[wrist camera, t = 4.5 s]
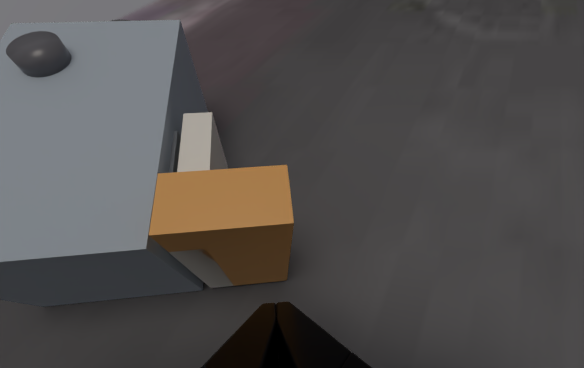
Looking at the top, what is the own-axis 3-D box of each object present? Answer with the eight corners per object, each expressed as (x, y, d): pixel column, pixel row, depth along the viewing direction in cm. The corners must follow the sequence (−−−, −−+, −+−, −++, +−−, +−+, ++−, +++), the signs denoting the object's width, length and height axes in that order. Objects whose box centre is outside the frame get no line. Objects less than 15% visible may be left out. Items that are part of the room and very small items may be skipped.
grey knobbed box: (205, 290, 15) (139, 240, 8) (42, 306, 14) (-191, 268, 7) (213, 97, 22) (182, -22, 15) (104, 102, 22) (16, -21, 14)
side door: (286, 280, 15) (293, 223, 8) (210, 288, 15) (148, 235, 8) (277, 183, 18) (277, 79, 11) (214, 188, 18) (171, 83, 11)
